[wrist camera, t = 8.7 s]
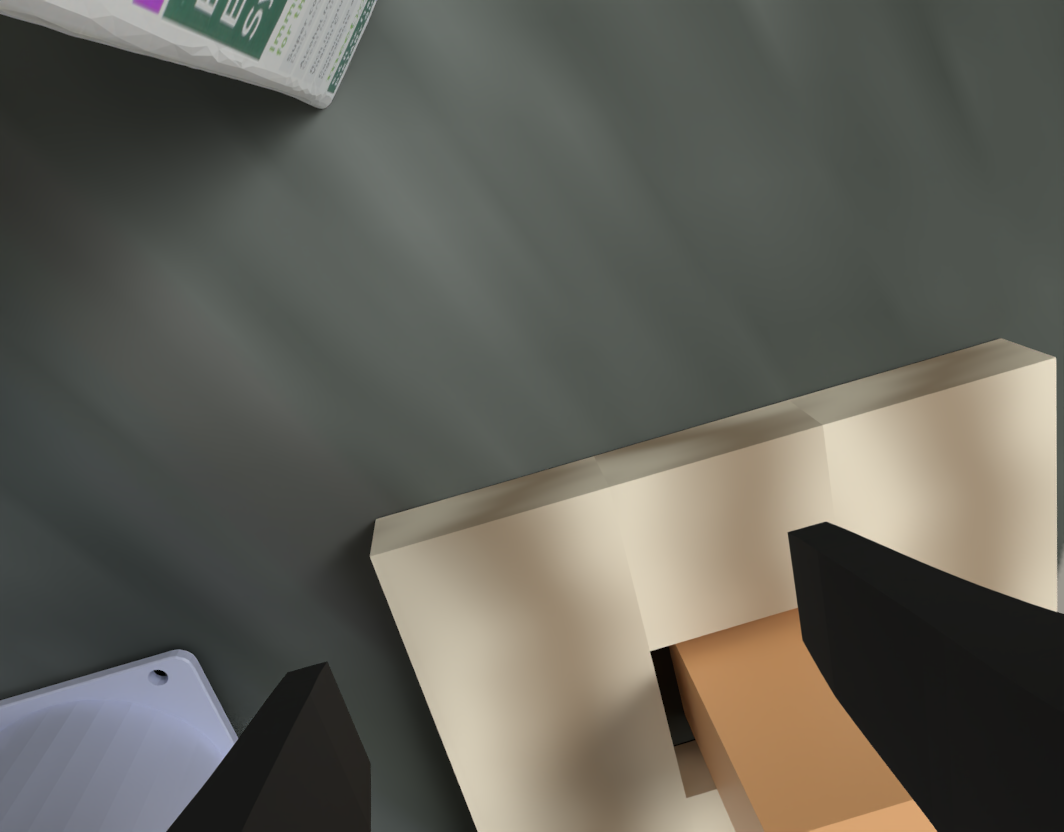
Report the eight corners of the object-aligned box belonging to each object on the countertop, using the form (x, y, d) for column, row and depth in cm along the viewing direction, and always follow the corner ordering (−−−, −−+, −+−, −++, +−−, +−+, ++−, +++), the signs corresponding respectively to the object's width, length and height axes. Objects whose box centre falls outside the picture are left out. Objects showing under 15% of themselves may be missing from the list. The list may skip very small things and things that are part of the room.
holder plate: (524, 910, 26) (531, 968, 24) (375, 518, 21) (369, 556, 19) (1014, 762, 27) (1058, 809, 25) (1000, 338, 21) (1055, 357, 19)
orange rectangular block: (684, 714, 24) (794, 968, 17) (661, 613, 23) (770, 843, 15) (803, 679, 24) (965, 916, 17) (787, 576, 23) (956, 786, 15)
